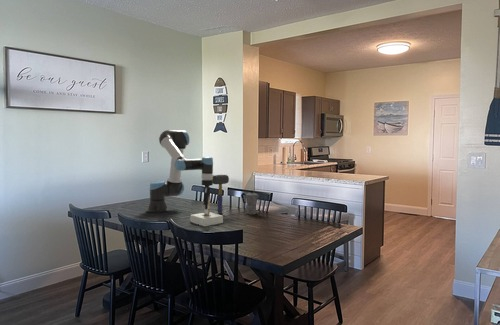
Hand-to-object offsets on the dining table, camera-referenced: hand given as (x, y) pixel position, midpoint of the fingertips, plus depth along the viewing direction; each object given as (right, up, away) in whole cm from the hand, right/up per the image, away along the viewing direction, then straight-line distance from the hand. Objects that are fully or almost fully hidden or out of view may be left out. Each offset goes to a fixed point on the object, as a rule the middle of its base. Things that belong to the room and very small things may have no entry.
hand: (206, 212), depth 256 cm
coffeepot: (+30, -5, +34) cm, 46 cm away
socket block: (0, -7, 0) cm, 7 cm away
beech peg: (0, -3, 0) cm, 3 cm away
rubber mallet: (+6, -5, +33) cm, 34 cm away
